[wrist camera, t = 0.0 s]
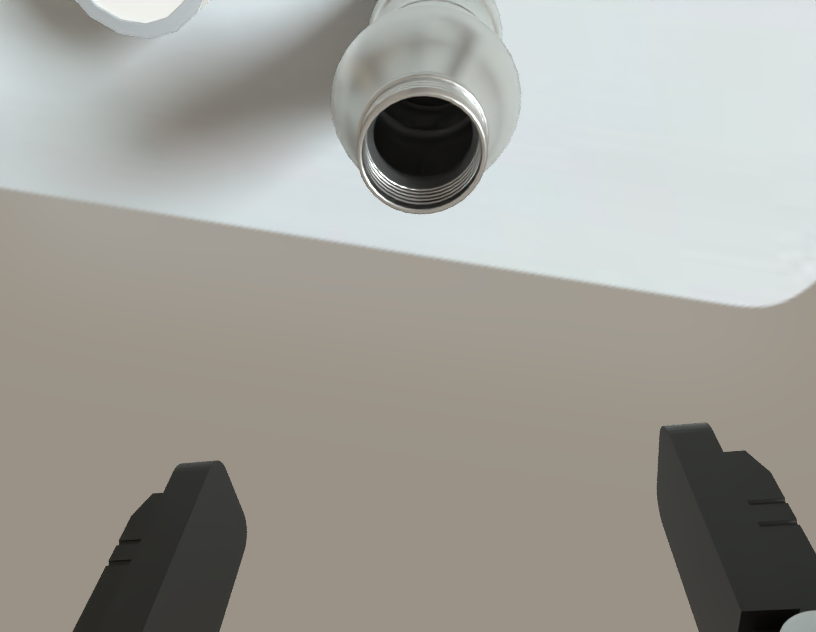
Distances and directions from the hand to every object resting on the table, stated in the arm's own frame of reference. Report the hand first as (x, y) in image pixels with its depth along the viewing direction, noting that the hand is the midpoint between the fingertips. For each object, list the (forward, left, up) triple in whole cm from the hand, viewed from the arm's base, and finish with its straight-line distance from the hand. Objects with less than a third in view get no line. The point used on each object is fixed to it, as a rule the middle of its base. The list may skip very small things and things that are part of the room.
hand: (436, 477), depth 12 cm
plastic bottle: (-3, 0, -30) cm, 30 cm away
